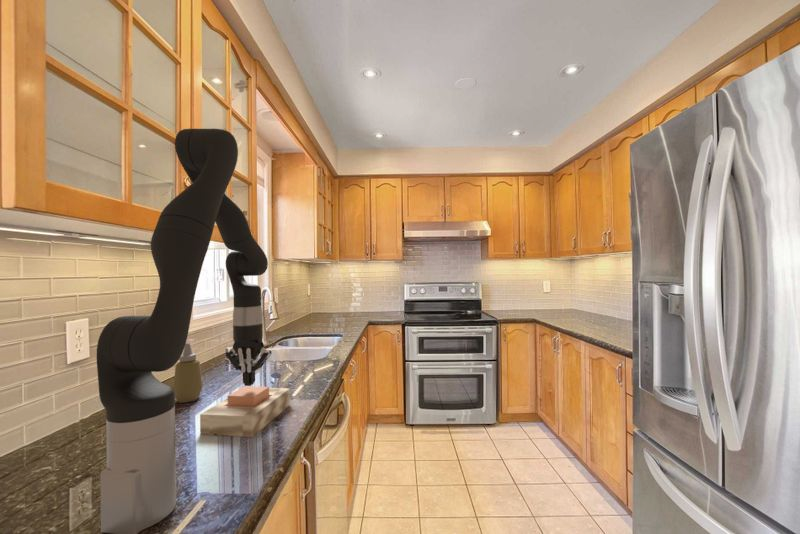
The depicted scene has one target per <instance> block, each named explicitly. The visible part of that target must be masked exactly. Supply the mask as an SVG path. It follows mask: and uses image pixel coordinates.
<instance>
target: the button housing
mask: <svg viewBox="0 0 800 534" xmlns="http://www.w3.org/2000/svg"><path fill="white" fill-rule="evenodd" d="M290 391H291V388H289V387H288V388H285V387H283V388H281V387H269V398H268V399H266V400H265V401H263V402H262V403H260V404H259V405H258V406H256V407H235V406H228V397H227V398H226V399H224V400H223V401H220V402H219V403H217V404H215V405H214V406H211V407H210V408H208V409H207V410H204V411H202V412H201V413H200V414H199V423H200V424H199V428H200V429H199V430H200V432H199V434H200V435H204V434H205V435H206V434H217V435H216V436H222V435H228V436H227V437H239V438H240V437H243V438H253V437H254V436H255V435H257V434H258V433H259V432H260V431H261V430H262V429H264V428H265V427H266V426H267V425H268V424H270V423H271V422H272V421H273V420H274V419H275V418H277V417H278V416H280V414H281V413H283V412H284V411H285V410H286V409H288V408H289V407H290V405H291V392H290Z"/></svg>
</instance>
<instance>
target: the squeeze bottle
mask: <svg viewBox="0 0 800 534" xmlns="http://www.w3.org/2000/svg"><path fill="white" fill-rule="evenodd" d="M173 378H174V379H173V380H174V381H173V386H172V389H173V390H174V393H175V400H176V401H177V402H178V403H181V404H184V403H190V402H193V401H196V400H198V399H199V398H200V395H201V393H202V389H203V385H204V384H203V378H202V369H201V362H200V360H198V359H197V353H195V352H193V350H192V347H191V343H190V342H186V344H185V347H184V350H183V353H182V355H181V357H180V358H179V360H178V361H177V363H176V364H175V370H174V377H173Z"/></svg>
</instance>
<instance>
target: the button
mask: <svg viewBox="0 0 800 534" xmlns="http://www.w3.org/2000/svg"><path fill="white" fill-rule="evenodd" d="M269 388H270V387H269V386H257V385H255V386H253V385H251V386H245V385H244V386H242V387H240V388H238V389H237V390H235V391H233V392H232V393H230V394H228V395H227V398H228V406H235V407H256V406H258V405H259V404H260V403H262V402H263V401H265V400H266V399H268V398H269Z"/></svg>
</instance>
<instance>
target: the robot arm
mask: <svg viewBox="0 0 800 534" xmlns="http://www.w3.org/2000/svg"><path fill="white" fill-rule="evenodd" d="M174 148H175V153H176V156H177V158H178V160H179V163H180V164H181V166H182V169H183V170H184V172H185V174H186V175H187V176H188V178H189V179H190V182H191V184H190V185H188V186H187V187H186V188H185V189H184V190H182V191H181V192H180V193H179V194H178V195H176V196H175V198H173V199H172V200H170V202H169V203H168V204H167V205H166V206H165V207H164V208H163V210H162V211H161V213H160V215H159V217H158V220H157V222H156V226H155V228H154V230H153V233H152V237H151V239H150V250H151V256H152V259H153V262H154V265H155V268H156V270H157V271H156V272H157V274H158V278H159V288H158V289H159V290H158V296H157V297H156V298H157V299H156V301H155V305H154V308H153V310H152V312H151V314H150V315H123V316H120V317H116V318H114V319H112V320H110V321H109V322H108V323H107V324H106V325H105V326H104V327H103V329H102V330H101V332H100V335H99V337H98V340H97V345H96V369H97V370H96V371H97V382H98V395H99V400H100V403H101V405H102V406H103V408H104V410H105V415H106V417H105V418H106V422H105V423H106V426H105V427H106V468H104V469H103V470H102V471H100V474H99V476H100V477H99V479H100V483H99V484H100V485H99V486H100V533H103V534H104V533H105V534H139V533H141V532H142V531H143V530H146V529H148V528H150V527H152V526H154V525H156V524H158V523H159V522H161V521H162V520H164V519H165V518H166V517H168V516H169V515H170V514H171V513H172V512H173V511H174V510H175V507H176V505H177V471H176V470H177V468H176V465H177V463H176V458H177V457H176V397H175V393H174V390H173V387H172V386H169V385H168V384H166V383H164V382H162V381H160V380H159V379H157V378H156V377H155V376H154V374H153V372H154V373H155V372H156V373H158V372H165V371H168V370H170V369H171V368H173V367H174V366H176V364H177V363H178V362H179V358H180V357H181V355H183V352H184V348H185V344H186V343H187V340H188V336H189V330H190V324H191V319H192V318H191V317H192V314H193V306H194V301H195V297H196V291H197V289H198V287H197V286H198V283H199V280H200V275H201V272H202V268H203V264H204V261H205V258H206V255H207V252H208V249H209V245H210V242H211V239H212V236H213V232H214V228H215V225H216V227H217V229H218V232H219V233H220V237H221V239H222V241H223V243H224V244H223V245H224V246H225V247H226V248H227V249H229V250H230V252H229V253H228V254H227V256H226V259H225V269H226V272H227V275H228V278H229V281H230V285H231V289H232V292H233V311H232V340H233V344H232V348H231V349H229V350H228V351H226V352H225V356H226V358H227V359H228V360H229V363H231V364H232V366H233V367H234V369H235V370H236V371H241V373H242V383H243V384H244V386H253V385H254V383H255V382H256V371H258V370H259V369H262V367H263V366H264V365H265V363H266V362H267V361H268V359H269V357H271V354H272V351H271V350H267V348H265V345H264V342H263V337H264V331H263V328H264V326H263V325H264V323H263V322H264V321H263V319H264V318H263V309H262V288H261V287H260V285H258V284H254V283H250V282H247V281H246V279H245V277H251V276H252V277H256V276H262V275H263V274H265V273H266V271H267V270H268V265H269V262H268V257H267V255H266V253H265V251H264V250H263V248H262V247H261V246H260V245H259V243H258V242H257V241H256V239H255V238H254V237H253V234H252V231H251V229H250V226H249V223H248V219H247V217H246V215H245V213H244V212H243V210H242V209H241V208H240V207H239V206H238V204H237V203H236V202H234V201H233V199H232V198H231V197H230V196H228V195H227V194H226V191H227V188H228V186H229V184H230V182H231V180H232V177H233V175H234V173H235V170H236V167H237V163H238V160H239V159H238V157H239V147H238V143H237V139H236V138H235V136H234V135H233V134H232V133H231V132H230V131H229V130H226V129H223V128H222V129H221V128H183V129H181V130H179V131H178V132H177V134H176V136H175V138H174Z"/></svg>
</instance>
